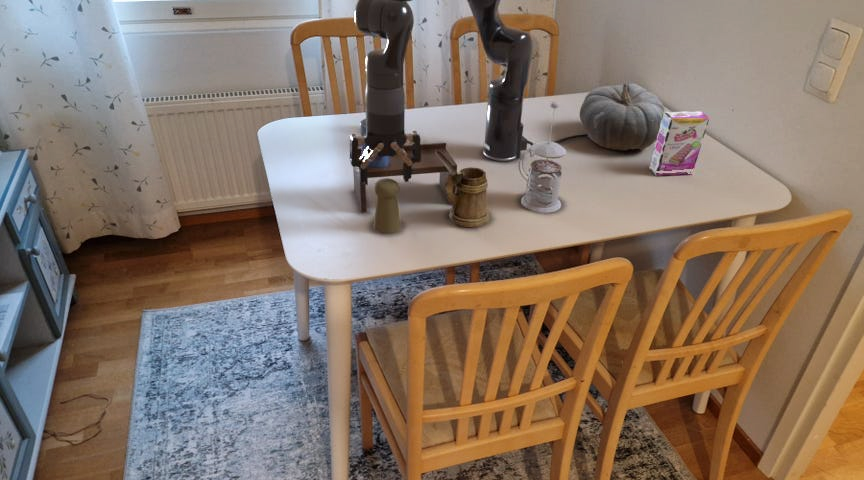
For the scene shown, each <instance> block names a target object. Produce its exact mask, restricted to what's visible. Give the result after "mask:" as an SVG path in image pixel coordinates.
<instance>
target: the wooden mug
mask: <svg viewBox="0 0 864 480" xmlns="http://www.w3.org/2000/svg"><path fill="white" fill-rule="evenodd" d="M436 155H437V156H438V158H439V159H440V160H441V161H442V163H443V164H444V165H445V166H446V168H447V169H448V170H449V172H450V173H449V175H448V177H447V180H446V183H445V192H446V195H447V197H448V199H449V200H450V202H451V204H450V205H451V207H450V211H449V218H450V220H451V221H452V222H453V223H454V224H455V225H457V226H460V227H464V228H479V227H482V226H484V225H486V224H487V223H488V222H489V220H490V212H489V209H488V196H487V195H488V194H487V193H488V192H487V189H488V186H489V185H488V179H487V173H486V172H485V170H483V169H482V168H479V167H466V168H462V169H460V170H459V171H458V170H457V171H456V169H455V168H454V167H453V165H452V164H451V163H450V161H449V160H448V159H447V158H446V157H445V156H444V155H443V154H442V153H441V152H440V151H438V150H436ZM454 185H455V186H456V191H455V194H454V193H453V192H452V189H453V186H454Z"/></svg>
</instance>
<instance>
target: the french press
mask: <svg viewBox="0 0 864 480" xmlns="http://www.w3.org/2000/svg"><path fill="white" fill-rule="evenodd" d="M549 107H550V108H552V118H551V125H550V132H549V140H547V141H545V140H542V141H539V142H536V143H533V145H532V146H531V145H530V149H528V150H526V151H525V152H523V153H522V154H521V155H520V158H518V159H519V160H518V171H519V173H520V175H521V177H522V178H523V179H524V180H525V181H526V188H525V195H523V196H522V197H521V199H520V203H521V205H522V206H523V207H524V208H525V209H528V210H529V211H532V212H536V213H541V214H542V213H544V214H545V213H546V214H547V213H548V214H549V213H553V212H556V211H558V210H560V209H561V208H562V202H561V201H560V199H559V193H560V187H561V181H562V171H561V170H562V165H561V164H560V163H558V162H556V161H554V159H561V158H562V157H564V156H565V155H566V153H567V150H566V149H565V147H563V145H561V144H559V143H555V142H554V141H551V137H552V130H553V124H554V117H555V116H554V115H555V110H556V109H558V108H559V107H560V103H559V102H558V101H551V102H550V105H549ZM527 153H530V156H529V157H530V158H533V157H534V156H535V155H536V156H538V157H541V158H540V159H535V160H533V161H531V163H530V167H531V168H529V169H528V173H527V172H526V171H525V168H524V159H525V156H526V155H527ZM532 153H533V154H532ZM542 158H544V159H542ZM545 158H546V159H545ZM550 159H551V160H550ZM521 166H522V170H523V172H524V174H525V175H526V176H527V178H526V177H525V176H524V174H523V173H522V171H521ZM542 175H548V176H542ZM539 176H540V177H539ZM549 176H550V177H549Z"/></svg>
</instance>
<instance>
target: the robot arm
mask: <svg viewBox="0 0 864 480" xmlns="http://www.w3.org/2000/svg"><path fill="white" fill-rule="evenodd" d="M412 1H413V0H357V1H356V5H355V8H354V15H353V16H354V17H353V18H354V19H353V20H354V23H355V26H356V29H357V30H358V31H359V32H360V33H361V34H362V35H365V36H368V37H373V38H378V39H383V40H387V43H386V47H385V48H378V49H372V50H370V51H369V52H367V54H366V57H365V93H364V106H365V119H366V134H365V136H361V135H356V134H355V133H352V134H350V136H349V162H350V165H351V167H352V168H353V167H356V166H357V167H359V176H360V180H361V182H363V183H364V185H367V186H368V184H369V178H368V172H367V166H368V165H369V163H370V162H371V161H373V160H374V158H375V157H376V156H379V157H384V156H394V155H396V154H398V155H399V156H400V157H401V159H403V161H404V162H403V175H402V179H403V181H404V182H405V183H408V182H409V181H410V180H411V179H412V176H413V175H412V164H414V163H416V162H417V163H419V162H420V161H421V145H420V144H421V136H420V134H419V132H418V131H417V130H413V131H412V132H411V133H405V132H406V131H405V117H406V116H405V114H406V113H405V111H406V109H405V108H406V107H405V105H406V104H405V103H406V102H405V101H406V100H405V99H406V98H405V97H406V95H405V89H404V64H405V58H406V55H407V50H408V47H409V42H410V40H411V35H412V33H413V29H414V23H415V17H414V13H413V10H412V8H411V6H410V4H409V3H408V2H412ZM501 1H502V0H466V2H467V4H468V6H469V9H470V11H471V14H472V16H473V19H474V21H475V24H476V27H477V31H478V33H479V37H480V40H481V44H482V48H483V50H484V53H485V56H486V58H487V59H488V60H489V61H490V62H492V63H493V64H495V65H498V66H501V67H504V68H506V69H505V74H504V76H497V77H495V78H492V79H491V80H490V81H489V84H488V94H487V105H486V107H487V108H486V117H485V119H486V120H485V131H484V142H483V152H482V153H483V156H484V157H485V158H487V159H489V160H491V161H494V162H511V161H514V160H516V159H520V157H521V151H522V152H523V151H528V150H527V148H528V145H530V147H531V146H532V145H533V144H534V142H532V141H530V140H529V139H527V138H526V137H525V136H524V135H523V132H524V124H523V122H522V116H523V106H524V97H525V90H526V87H527V84H528V81H529V76H530V70H531V64H532V58H533V51H534V49H533V48H534V41H533V38H532V36H531V34H530V33H528V32H527V31H524V30H521V29H518V28H513V27H509V26H507V25H506V24H505V23H504V21H503V19H502V17H501V14H500V11H499V6H500V4H501ZM580 138H590V137H589V136H588V135H587V133H583V134H582V133H581V134H576V135H570V136H567V137H566V136H565V137H563V138H560V139H558V140H554V141H553V142H555V143H557V144H559V143H562V142H565V141H569V140H574V139H580ZM407 141H408V142H409V145H412V150H413V155H411V156H408V154H407V153H406V152H405V151H404V149H403V148H402V146H403V145H406V142H407ZM364 142H365V143H366V145H367V146H368V147H367V149H366V150H365V151H364V154H363V155H362V157H361V158H360V159H358V148H361V145H362V143H364Z"/></svg>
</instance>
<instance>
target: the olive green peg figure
mask: <svg viewBox="0 0 864 480" xmlns="http://www.w3.org/2000/svg"><path fill="white" fill-rule="evenodd" d="M373 191H374V194H375V196H376V201H375V209H374V217H373V225H372V227H373V230H374V231H375V232H377V233H379V234H383V235H385V234H386V235H389V234H394V233H398V232H399V231H400V230H401V228H402V224H401V217H400V209H399V203H398V195H399V192H400V186H399V183H398V182H397V181H396V180H395V179H391V178H389V177H383V178H379V179H378V180H377V181H376V182H375V183H374V186H373Z"/></svg>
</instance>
